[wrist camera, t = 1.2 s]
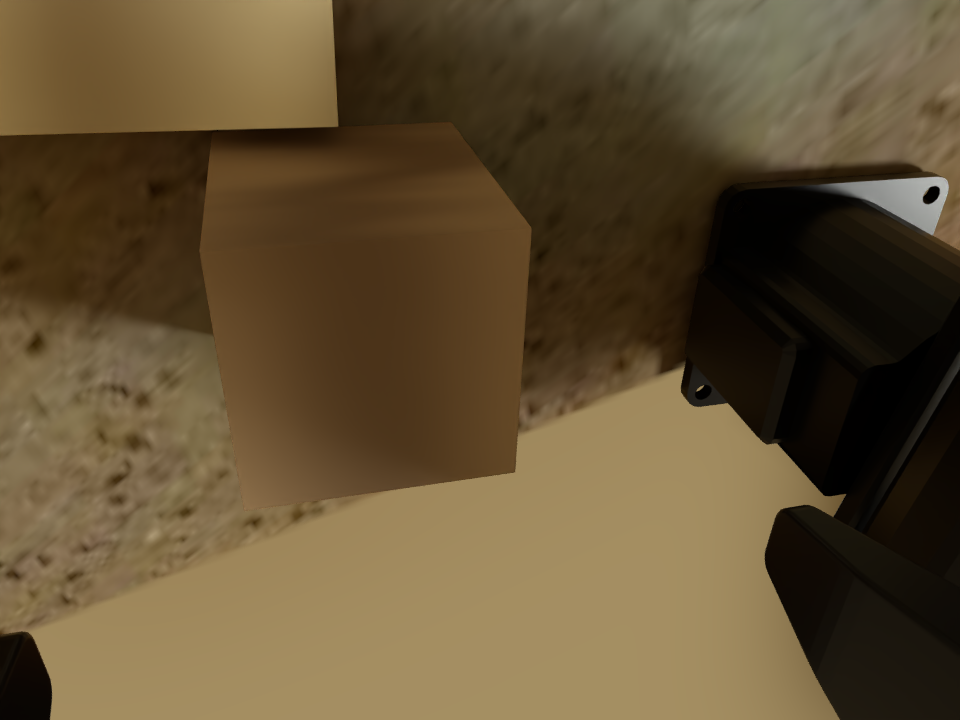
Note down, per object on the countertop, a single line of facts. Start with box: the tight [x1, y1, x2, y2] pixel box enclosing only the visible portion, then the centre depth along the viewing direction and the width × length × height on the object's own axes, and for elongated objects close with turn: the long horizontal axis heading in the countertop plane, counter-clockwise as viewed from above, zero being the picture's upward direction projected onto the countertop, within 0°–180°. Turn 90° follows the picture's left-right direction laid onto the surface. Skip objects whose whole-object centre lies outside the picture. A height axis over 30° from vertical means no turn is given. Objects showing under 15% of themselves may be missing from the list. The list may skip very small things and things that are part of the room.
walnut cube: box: [199, 122, 532, 511], centre depth 16 cm, size 5×5×6 cm
